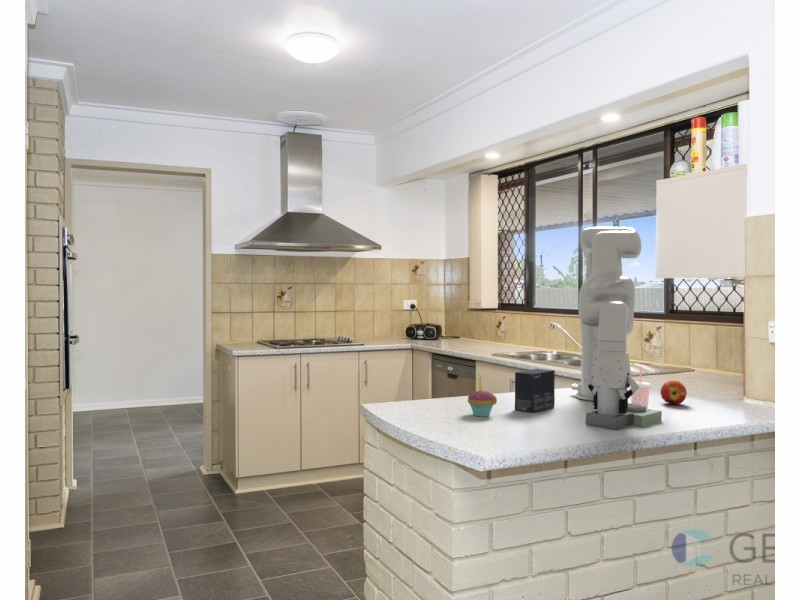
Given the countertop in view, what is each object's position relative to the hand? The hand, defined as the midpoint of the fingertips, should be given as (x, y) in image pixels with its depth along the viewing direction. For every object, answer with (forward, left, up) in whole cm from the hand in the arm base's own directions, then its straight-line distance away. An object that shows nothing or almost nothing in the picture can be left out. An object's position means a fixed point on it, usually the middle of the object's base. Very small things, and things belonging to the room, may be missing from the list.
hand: (610, 410), depth 178 cm
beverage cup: (-4, +26, -4) cm, 26 cm away
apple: (-3, +48, -4) cm, 48 cm away
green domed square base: (0, +11, -4) cm, 12 cm away
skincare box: (0, 0, -3) cm, 3 cm away
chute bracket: (0, 0, -4) cm, 4 cm away
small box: (-27, +3, -4) cm, 27 cm away
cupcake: (-31, -18, -4) cm, 36 cm away
